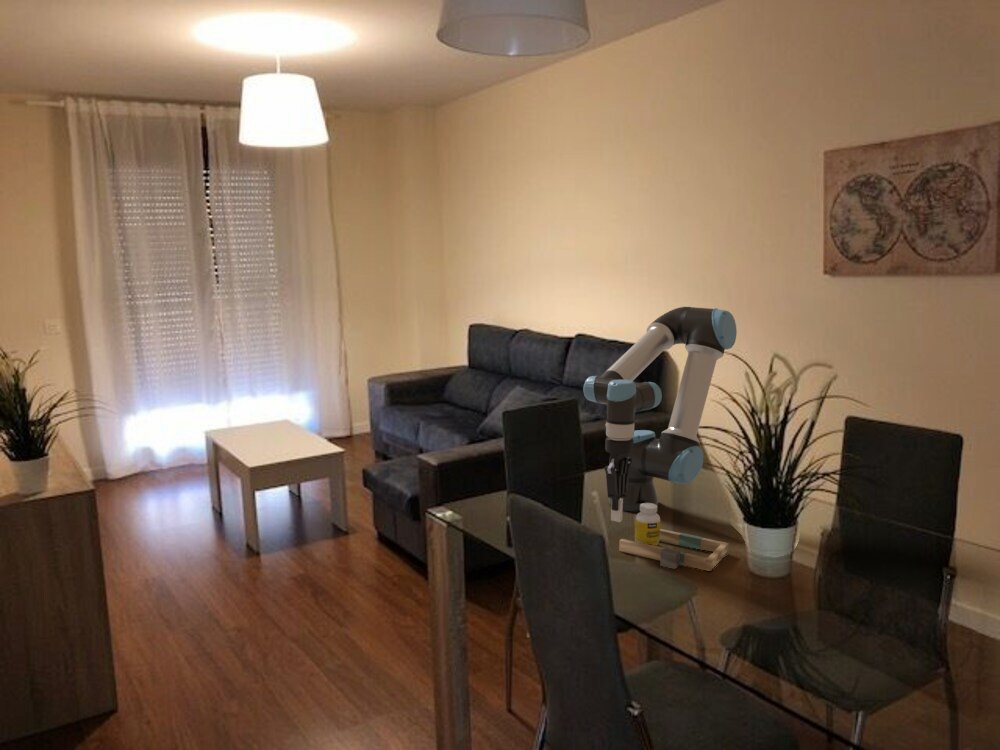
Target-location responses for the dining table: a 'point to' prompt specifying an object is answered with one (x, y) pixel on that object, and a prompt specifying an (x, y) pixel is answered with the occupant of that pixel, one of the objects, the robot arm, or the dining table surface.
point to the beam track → (674, 556)
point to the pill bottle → (647, 525)
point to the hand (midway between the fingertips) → (616, 520)
